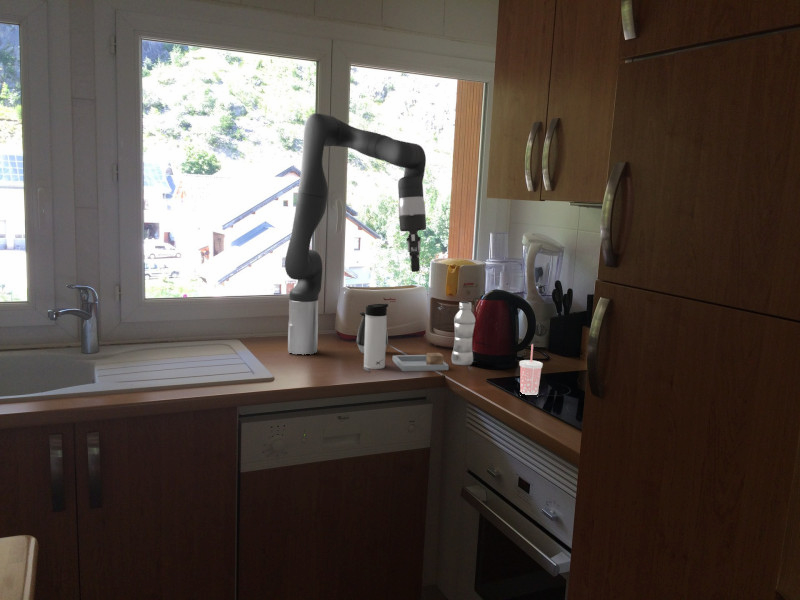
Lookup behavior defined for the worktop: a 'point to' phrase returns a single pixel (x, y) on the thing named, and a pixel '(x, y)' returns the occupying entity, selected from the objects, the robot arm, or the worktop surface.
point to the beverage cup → (530, 375)
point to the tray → (416, 363)
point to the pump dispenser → (362, 334)
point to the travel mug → (375, 336)
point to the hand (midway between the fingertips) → (415, 271)
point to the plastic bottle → (463, 335)
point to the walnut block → (434, 359)
